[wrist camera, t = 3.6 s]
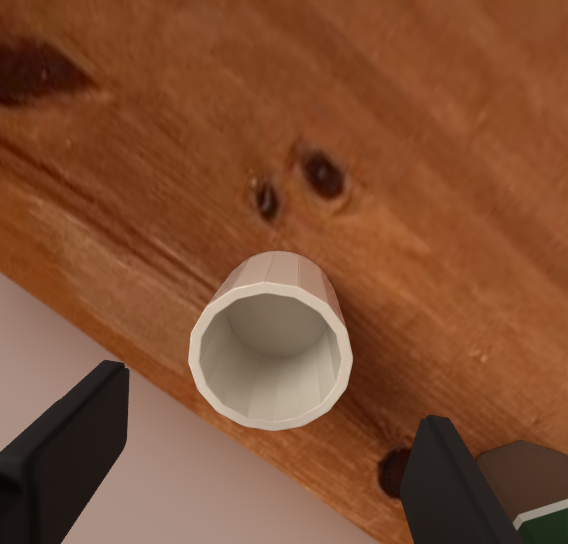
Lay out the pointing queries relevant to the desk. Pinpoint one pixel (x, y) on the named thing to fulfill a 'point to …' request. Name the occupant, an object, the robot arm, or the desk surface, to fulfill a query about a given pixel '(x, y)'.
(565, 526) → the beer bottle
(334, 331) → the ramekin
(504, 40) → the desk surface
